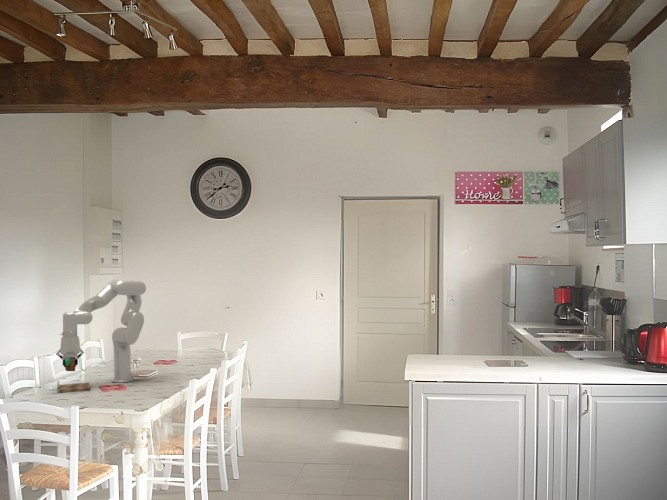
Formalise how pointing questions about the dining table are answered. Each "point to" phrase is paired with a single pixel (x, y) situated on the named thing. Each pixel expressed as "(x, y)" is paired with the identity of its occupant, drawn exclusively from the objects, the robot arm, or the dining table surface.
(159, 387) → the dining table surface
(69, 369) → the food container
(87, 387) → the shelf board
